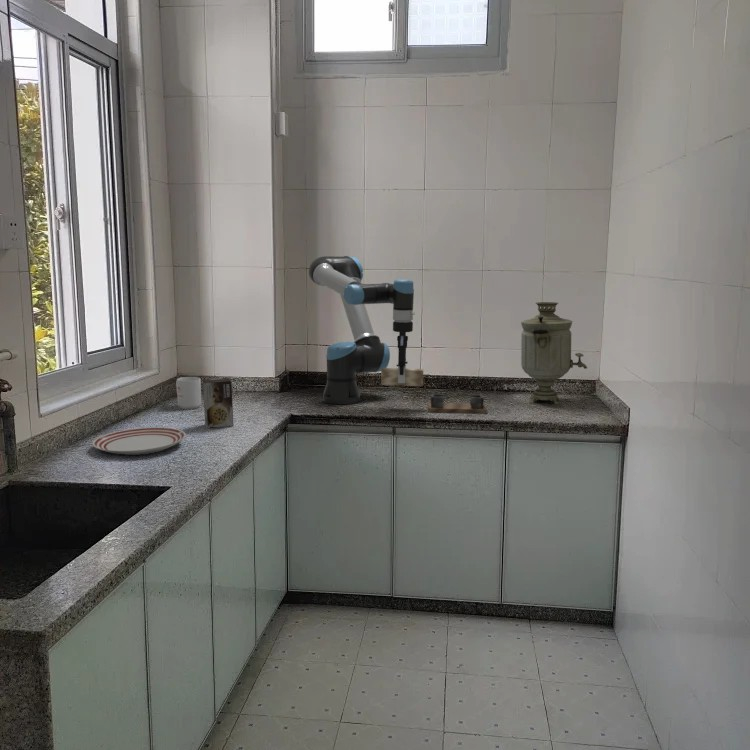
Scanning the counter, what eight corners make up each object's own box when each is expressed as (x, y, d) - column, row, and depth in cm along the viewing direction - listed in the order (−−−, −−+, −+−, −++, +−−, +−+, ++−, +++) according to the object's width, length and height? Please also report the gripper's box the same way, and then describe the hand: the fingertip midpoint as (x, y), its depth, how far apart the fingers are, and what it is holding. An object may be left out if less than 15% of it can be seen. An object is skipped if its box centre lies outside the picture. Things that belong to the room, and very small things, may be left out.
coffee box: (230, 422, 253) (229, 377, 250) (233, 426, 247) (232, 380, 245) (204, 424, 250) (202, 378, 247) (206, 428, 244) (205, 382, 241)
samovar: (566, 413, 269) (572, 307, 263) (503, 404, 285) (507, 303, 278) (595, 400, 293) (601, 302, 286) (535, 392, 308) (539, 299, 302)
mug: (206, 407, 277) (205, 378, 275) (186, 410, 271) (185, 381, 269) (187, 402, 285) (186, 375, 283) (168, 406, 278) (167, 378, 276)
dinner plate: (88, 463, 205) (87, 452, 204) (96, 439, 231) (96, 429, 230) (187, 456, 212) (187, 445, 212) (185, 433, 238) (184, 423, 238)
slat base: (427, 412, 270) (428, 397, 269) (428, 406, 280) (428, 392, 279) (486, 413, 269) (487, 399, 268) (484, 407, 278) (485, 393, 277)
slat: (381, 384, 274) (381, 369, 272) (381, 383, 277) (381, 367, 276) (423, 386, 273) (423, 370, 271) (423, 384, 276) (423, 369, 275)
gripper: (412, 323, 262) (410, 386, 266) (413, 318, 278) (412, 378, 282) (391, 323, 262) (390, 385, 267) (394, 318, 279) (393, 377, 283)
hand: (401, 381), depth 275 cm, fingers closed on slat, 4 cm apart
